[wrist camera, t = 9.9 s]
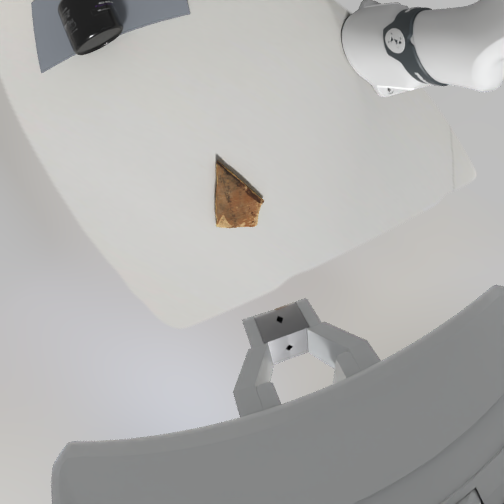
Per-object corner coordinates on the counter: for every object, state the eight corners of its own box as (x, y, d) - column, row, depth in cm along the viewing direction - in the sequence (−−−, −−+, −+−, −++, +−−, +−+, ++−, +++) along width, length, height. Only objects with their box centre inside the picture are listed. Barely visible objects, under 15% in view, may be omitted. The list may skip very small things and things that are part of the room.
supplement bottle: (124, 20, 19) (96, -41, 12) (70, 51, 18) (45, -13, 11) (126, 35, 25) (100, -21, 17) (81, 60, 24) (57, 3, 17)
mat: (174, -54, 17) (174, -55, 17) (189, 14, 25) (190, 13, 25) (32, 3, 15) (31, 2, 14) (42, 73, 23) (41, 73, 23)
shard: (215, 158, 38) (217, 161, 37) (265, 158, 40) (269, 161, 39) (213, 224, 44) (215, 229, 43) (259, 221, 46) (262, 226, 45)
